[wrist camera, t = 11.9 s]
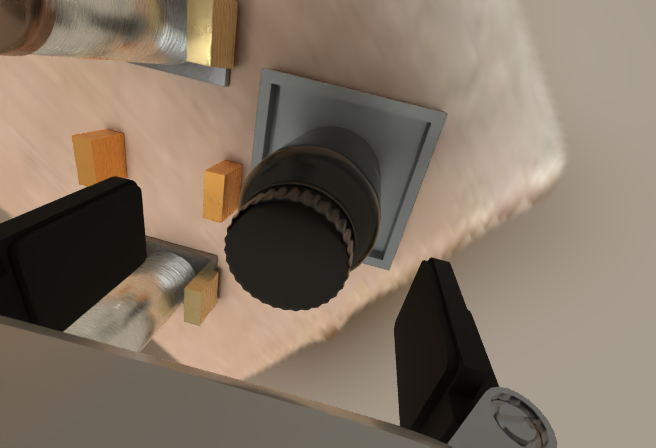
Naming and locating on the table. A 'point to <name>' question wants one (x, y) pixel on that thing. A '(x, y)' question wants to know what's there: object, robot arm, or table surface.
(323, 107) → the tray
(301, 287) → the supplement bottle
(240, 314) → the table surface
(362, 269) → the table surface
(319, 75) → the table surface
